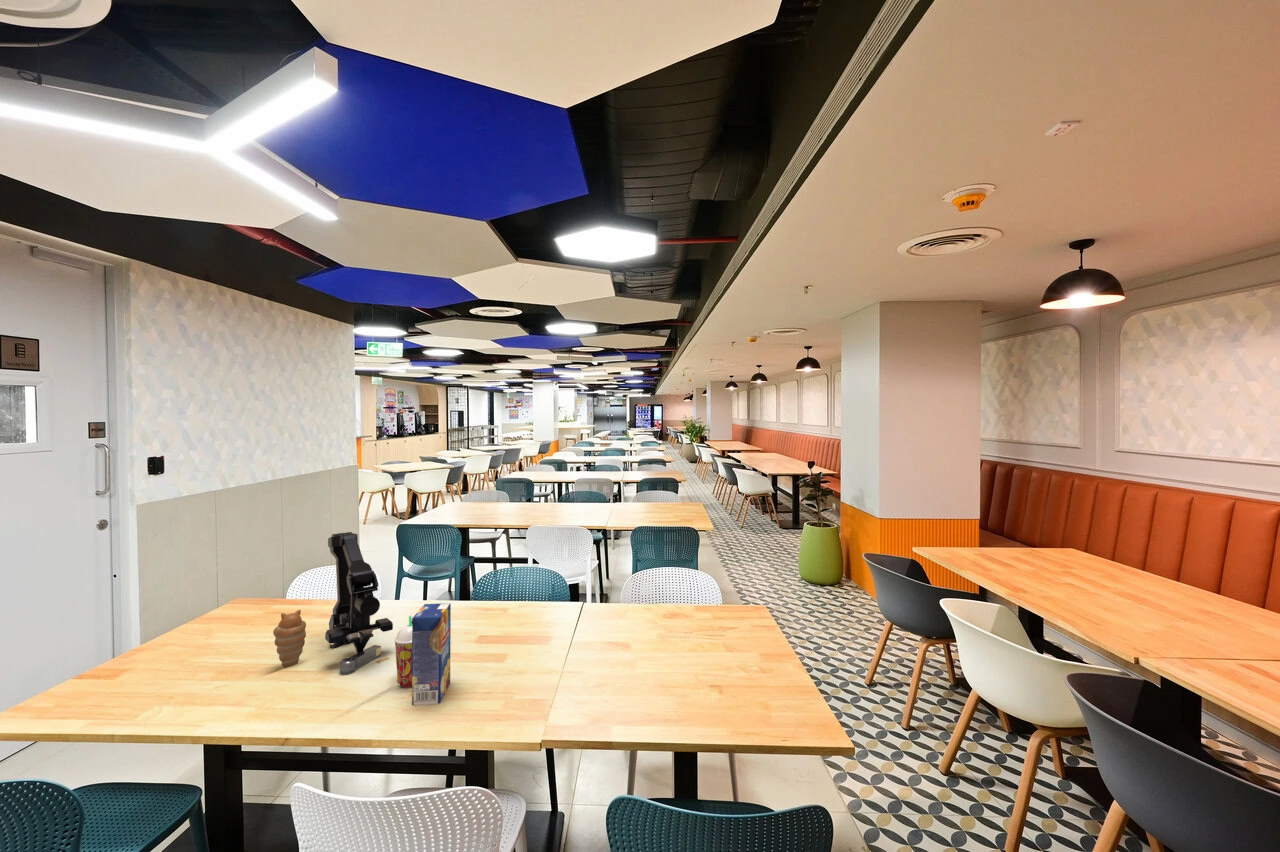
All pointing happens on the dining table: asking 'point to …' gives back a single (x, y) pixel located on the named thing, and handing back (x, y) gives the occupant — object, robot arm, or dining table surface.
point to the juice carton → (431, 653)
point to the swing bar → (359, 659)
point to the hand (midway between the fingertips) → (359, 656)
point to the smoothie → (404, 655)
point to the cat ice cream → (290, 638)
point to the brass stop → (382, 660)
